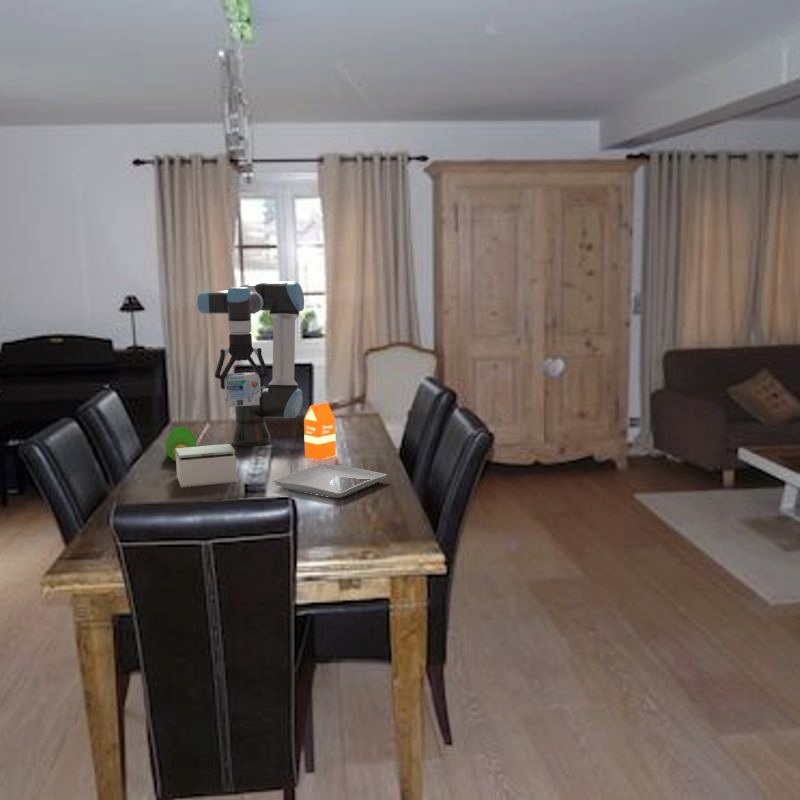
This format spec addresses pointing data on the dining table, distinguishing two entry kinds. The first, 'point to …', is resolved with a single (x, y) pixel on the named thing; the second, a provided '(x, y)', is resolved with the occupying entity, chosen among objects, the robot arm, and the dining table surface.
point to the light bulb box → (242, 389)
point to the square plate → (327, 479)
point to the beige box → (206, 470)
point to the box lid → (204, 450)
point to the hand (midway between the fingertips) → (242, 397)
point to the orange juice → (319, 432)
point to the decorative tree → (179, 441)
